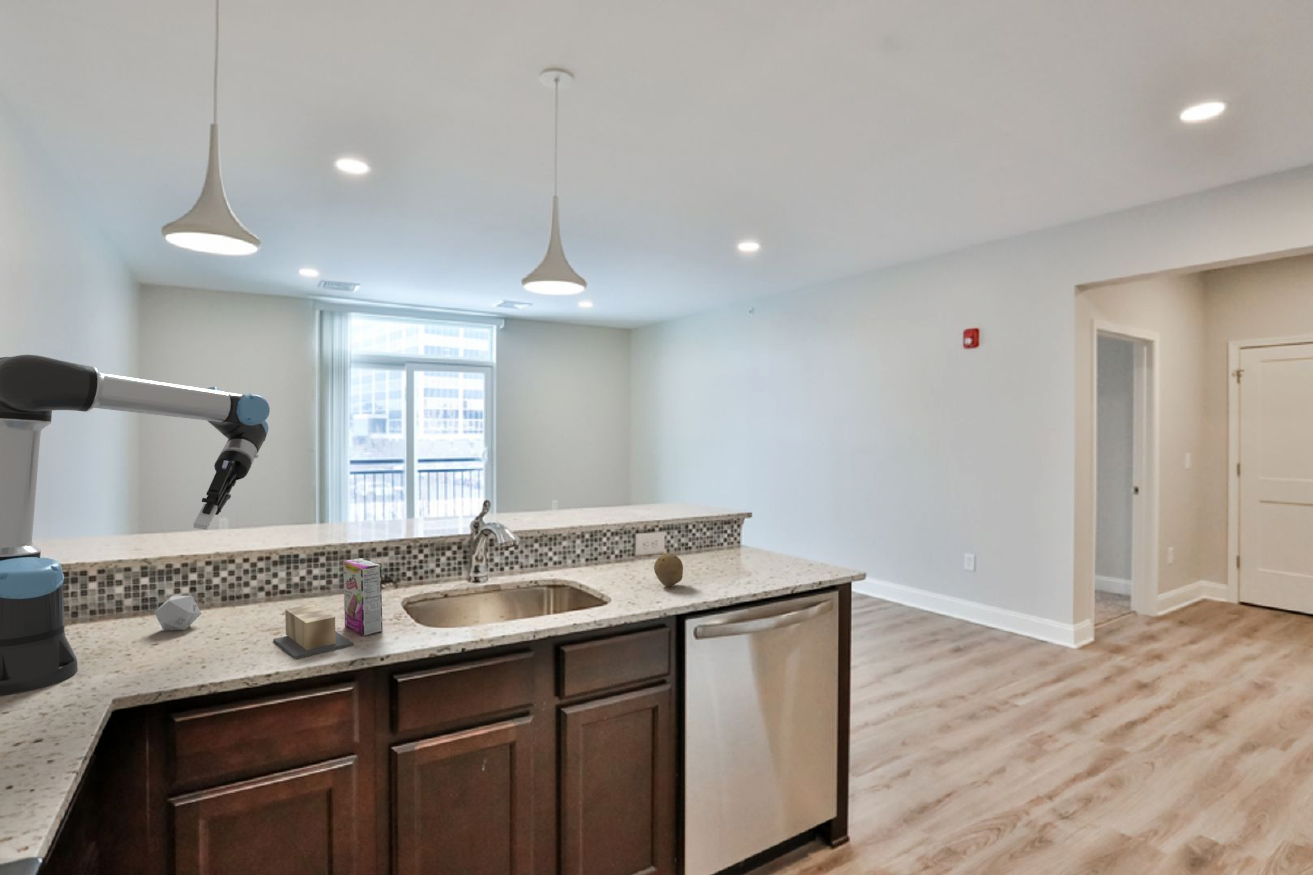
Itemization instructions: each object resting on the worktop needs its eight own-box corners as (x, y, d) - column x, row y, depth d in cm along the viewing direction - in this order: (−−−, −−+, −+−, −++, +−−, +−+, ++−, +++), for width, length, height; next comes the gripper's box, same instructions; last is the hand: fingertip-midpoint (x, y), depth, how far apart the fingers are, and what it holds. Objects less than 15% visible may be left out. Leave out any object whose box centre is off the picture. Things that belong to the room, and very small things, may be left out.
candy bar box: (343, 627, 161) (341, 560, 161) (363, 622, 165) (362, 557, 164) (362, 637, 154) (361, 567, 153) (383, 631, 157) (382, 563, 157)
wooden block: (285, 634, 154) (306, 650, 143) (285, 609, 154) (306, 622, 143) (313, 628, 158) (335, 643, 147) (312, 603, 158) (335, 616, 147)
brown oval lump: (657, 581, 203) (657, 549, 203) (686, 582, 202) (685, 550, 201) (651, 589, 194) (651, 555, 194) (681, 590, 193) (680, 556, 192)
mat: (295, 659, 140) (295, 656, 140) (273, 641, 151) (273, 638, 151) (353, 645, 148) (353, 642, 148) (328, 629, 159) (328, 626, 159)
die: (165, 639, 155) (194, 603, 158) (138, 619, 157) (167, 584, 159) (188, 640, 163) (215, 606, 166) (162, 622, 164) (190, 588, 167)
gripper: (253, 444, 168) (219, 509, 150) (250, 480, 175) (218, 547, 157) (219, 438, 165) (181, 503, 147) (218, 475, 172) (181, 542, 154)
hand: (200, 526), depth 152 cm, fingers closed
